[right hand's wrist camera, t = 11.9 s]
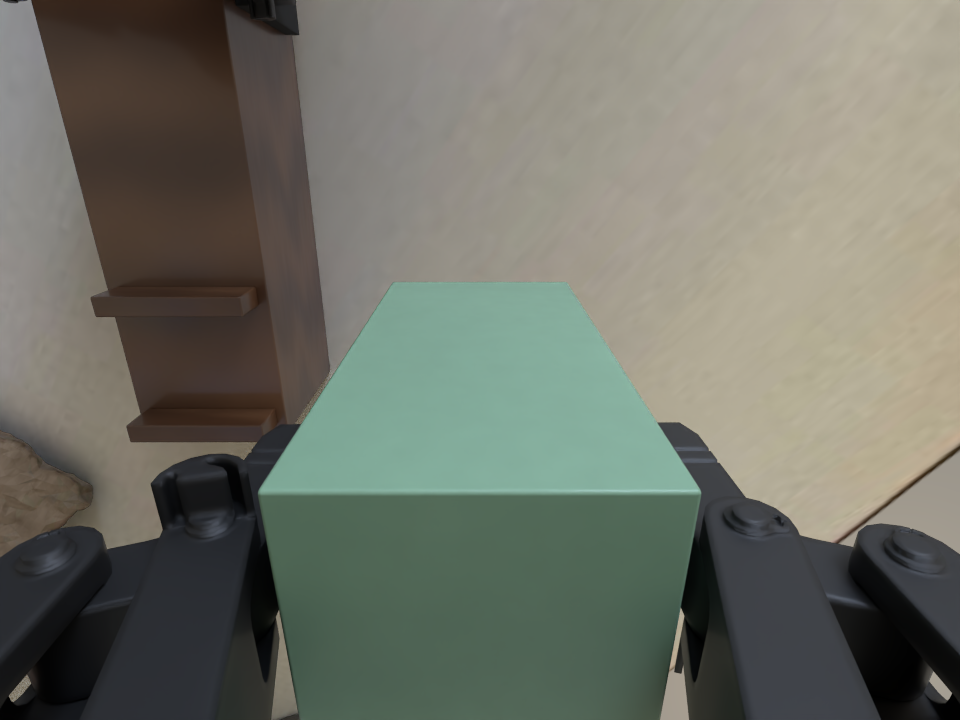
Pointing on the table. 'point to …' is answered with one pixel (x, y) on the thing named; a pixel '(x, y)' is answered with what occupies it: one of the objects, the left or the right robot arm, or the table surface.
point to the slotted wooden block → (194, 208)
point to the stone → (34, 494)
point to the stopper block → (479, 519)
